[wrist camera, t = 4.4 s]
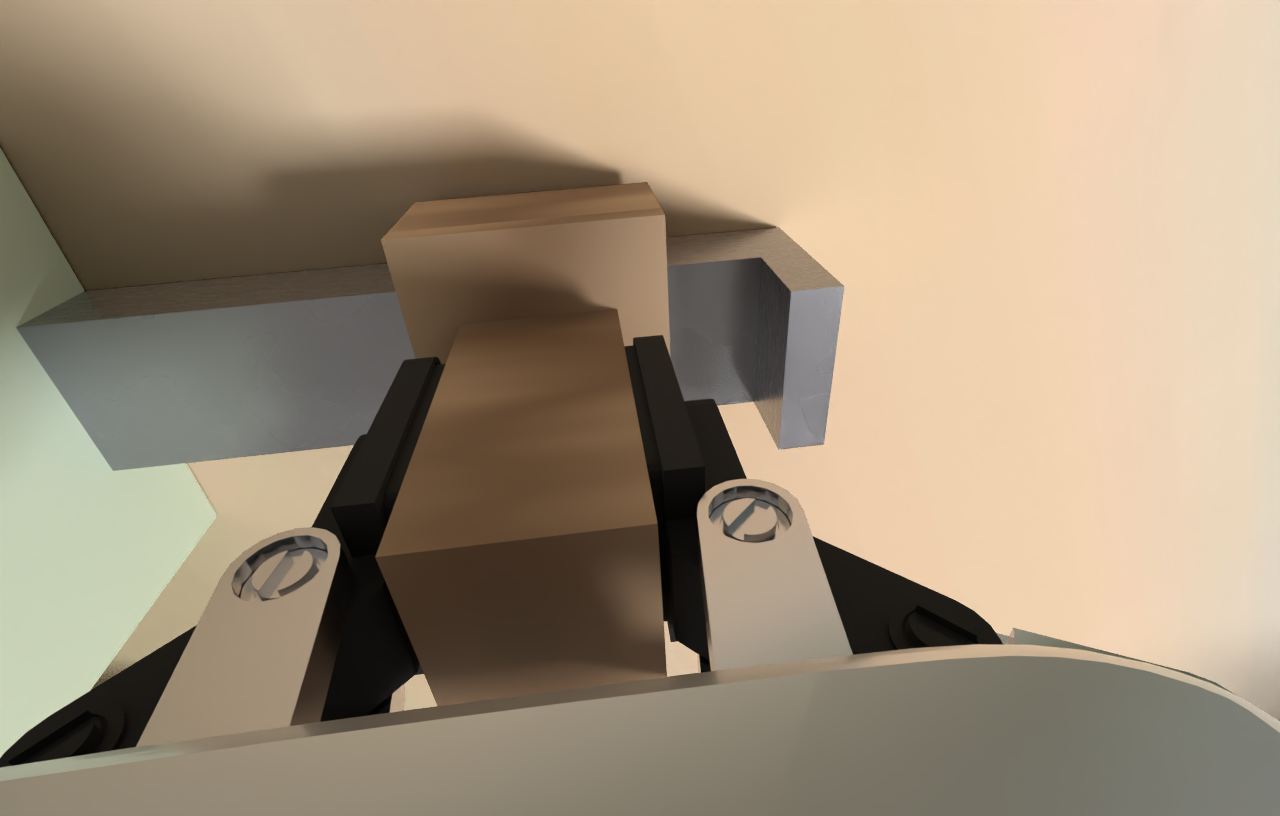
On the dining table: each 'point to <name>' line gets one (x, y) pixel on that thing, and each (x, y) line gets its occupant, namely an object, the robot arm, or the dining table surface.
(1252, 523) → the dining table surface
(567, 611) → the carriage
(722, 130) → the dining table surface
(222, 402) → the rail
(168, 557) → the cabinet
